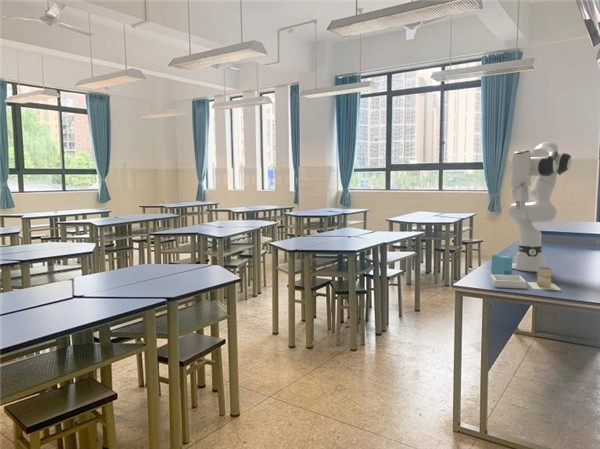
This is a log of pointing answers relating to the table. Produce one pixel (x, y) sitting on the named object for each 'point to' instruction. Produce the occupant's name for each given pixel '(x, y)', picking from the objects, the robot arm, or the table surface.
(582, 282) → the table surface
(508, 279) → the bin
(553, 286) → the pad
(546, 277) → the part box
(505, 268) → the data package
